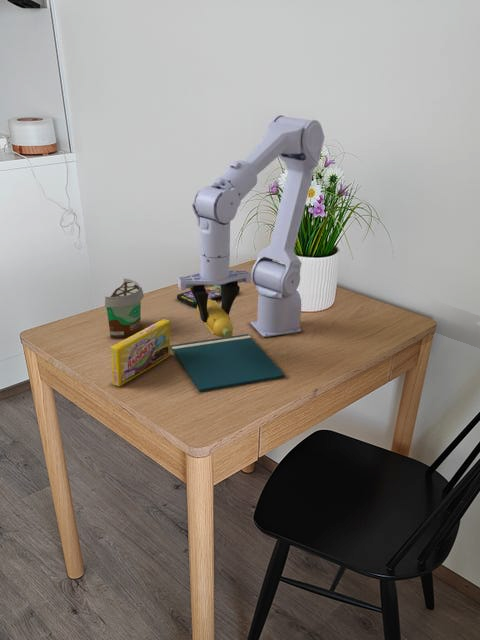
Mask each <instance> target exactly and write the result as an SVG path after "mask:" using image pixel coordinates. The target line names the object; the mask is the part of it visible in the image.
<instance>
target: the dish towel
mask: <svg viewBox="0 0 480 640" xmlns="http://www.w3.org/2000/svg"><path fill="white" fill-rule="evenodd" d="M170 350H171V351H172V353H173V354H174V356H175V357H176V359H177V360H178V361H179V363H180V364H181V366H182V368H183V369H184V371H185V372H186V374H187V375H188V377H189V378H190V380H191V381H192V383H193V384H194V386H195V387H196V389H197V390H198V392H199V393H202V392H206V391H213V390H219V389H225V388H232V387H237V386H242V385H249V384H255V383H260V382H265V381H266V382H267V381H271V380H277V379H283V378H285V377H286V374H285V373H284V372H283V371H282V370H281V368H279V367H278V366H277V365H276V364H275V362H274V361H273V360H272V359H271V358H270V357H269V355H267V354H266V353H265V352H264V350H263V349H262V348H261V347H260V346H259V345H258V344H257V342H255V341H254V339H253V338H252V336H250V335H249V334H248V333H246V334H239V335H232V336H231V337H230V338H226V337H218V338H212V339H205V340H199V341H191V342H184V343H178V344H170Z"/></svg>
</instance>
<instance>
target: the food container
mask: <svg viewBox="0 0 480 640" xmlns="http://www.w3.org/2000/svg"><path fill="white" fill-rule="evenodd" d="M143 298H144V291H143V287H142V286H141V284H140V283H139V282H138V281H136V280H133V279H130V278H123V283H122V284H121V285H120V286H119V287H117V288H116V289H114V290H113V292H112V293H111V295H110V296H104V307H105V308H106V313H107V321H108V328H109V334H110V338H111V339H127V338H129V337H130V336H132V335H134V334H136V333H138V332H140V331H141V312H142V311H141V307H142V306H141V305H142V300H143Z"/></svg>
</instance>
